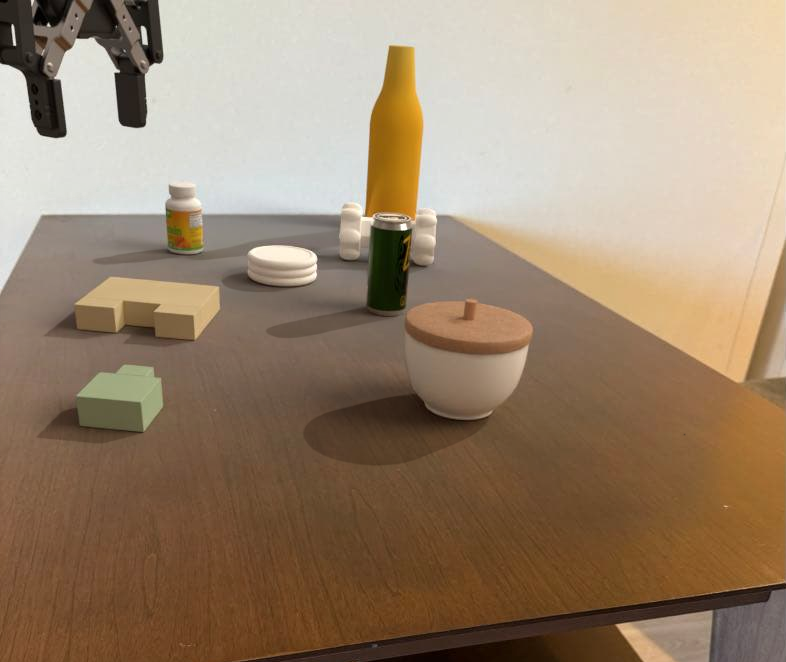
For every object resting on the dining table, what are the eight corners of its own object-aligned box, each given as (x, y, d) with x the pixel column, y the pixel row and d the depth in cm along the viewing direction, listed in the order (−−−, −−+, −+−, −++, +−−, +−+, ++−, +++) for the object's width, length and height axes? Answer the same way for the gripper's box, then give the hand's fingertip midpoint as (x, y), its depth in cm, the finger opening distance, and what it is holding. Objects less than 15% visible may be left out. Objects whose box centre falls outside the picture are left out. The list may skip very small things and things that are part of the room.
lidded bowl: (515, 439, 82) (534, 328, 77) (388, 421, 84) (396, 311, 78) (522, 391, 93) (538, 291, 87) (408, 376, 94) (417, 276, 89)
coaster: (258, 289, 118) (258, 263, 116) (239, 269, 126) (238, 245, 124) (326, 285, 122) (327, 260, 120) (303, 267, 129) (304, 243, 127)
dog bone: (431, 257, 140) (436, 205, 136) (433, 271, 133) (438, 216, 128) (340, 250, 139) (342, 198, 135) (337, 264, 132) (339, 209, 128)
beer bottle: (353, 227, 154) (361, 42, 138) (391, 223, 159) (403, 44, 144) (387, 239, 148) (400, 48, 133) (425, 233, 154) (441, 49, 138)
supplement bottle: (160, 250, 132) (155, 183, 127) (186, 244, 136) (182, 179, 130) (185, 257, 129) (181, 189, 124) (210, 251, 133) (208, 185, 128)
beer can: (366, 315, 112) (371, 220, 105) (365, 303, 116) (370, 211, 110) (406, 317, 112) (414, 223, 106) (404, 305, 117) (411, 213, 110)
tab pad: (143, 432, 78) (141, 402, 77) (79, 426, 78) (75, 395, 77) (170, 396, 85) (168, 368, 84) (111, 391, 85) (108, 362, 84)
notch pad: (77, 329, 100) (73, 304, 98) (112, 299, 110) (110, 276, 108) (195, 340, 99) (193, 315, 98) (220, 309, 109) (219, 286, 108)
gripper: (98, -127, 62) (120, 119, 71) (-70, -163, 51) (-19, 133, 60) (181, -124, 60) (193, 130, 68) (24, -162, 49) (62, 147, 57)
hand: (94, 131), depth 64 cm, fingers open, 8 cm apart
